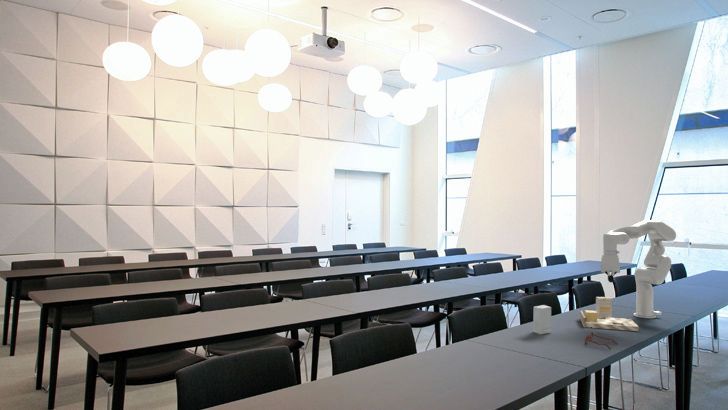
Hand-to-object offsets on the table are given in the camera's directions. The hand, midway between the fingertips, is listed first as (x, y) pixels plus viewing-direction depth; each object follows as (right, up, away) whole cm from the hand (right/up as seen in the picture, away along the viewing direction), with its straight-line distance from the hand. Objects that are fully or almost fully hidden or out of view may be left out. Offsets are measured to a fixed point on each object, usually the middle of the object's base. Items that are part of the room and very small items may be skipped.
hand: (610, 282), depth 306 cm
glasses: (-32, -25, -54) cm, 67 cm away
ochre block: (-17, -21, -10) cm, 29 cm away
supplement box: (-1, -24, +7) cm, 25 cm away
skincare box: (-54, -24, -31) cm, 67 cm away
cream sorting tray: (-7, -24, -12) cm, 28 cm away
